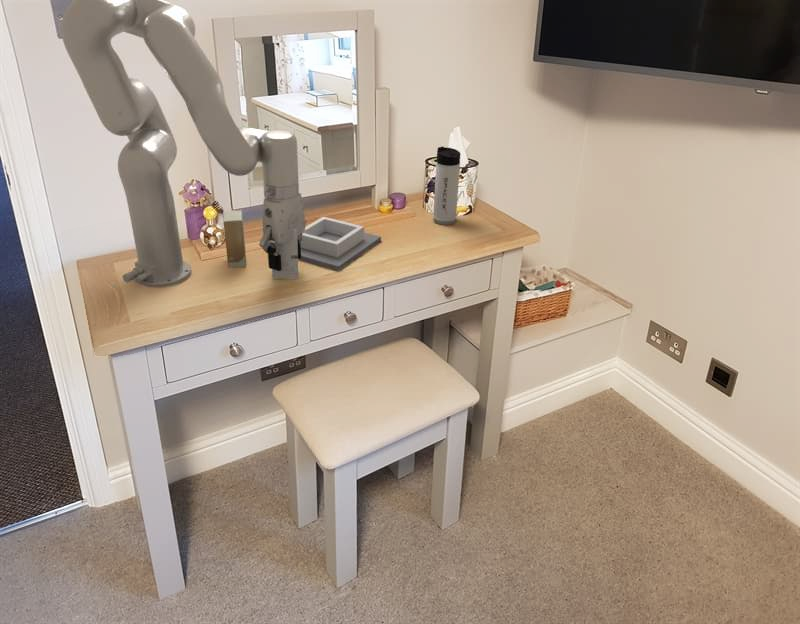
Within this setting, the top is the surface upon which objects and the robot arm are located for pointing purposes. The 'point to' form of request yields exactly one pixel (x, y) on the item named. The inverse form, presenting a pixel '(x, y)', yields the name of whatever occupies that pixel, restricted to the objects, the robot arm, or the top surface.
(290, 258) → the skincare box
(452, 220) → the travel mug
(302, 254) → the duct collar
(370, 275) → the top surface
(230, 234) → the skincare box
